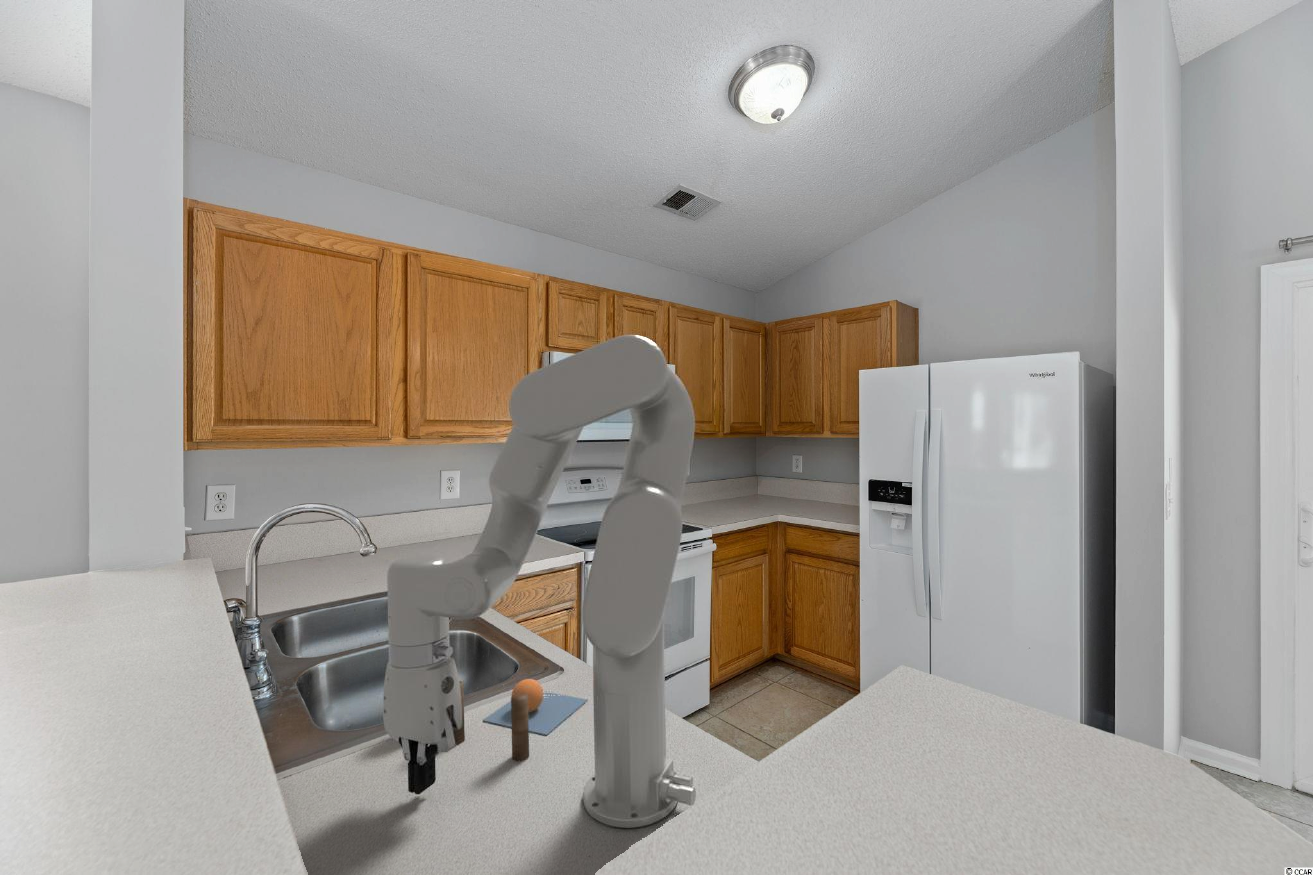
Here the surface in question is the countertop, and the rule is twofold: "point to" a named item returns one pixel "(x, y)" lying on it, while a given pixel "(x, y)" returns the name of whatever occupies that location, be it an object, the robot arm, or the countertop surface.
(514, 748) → the post near
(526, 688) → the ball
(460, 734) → the post far
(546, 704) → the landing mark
